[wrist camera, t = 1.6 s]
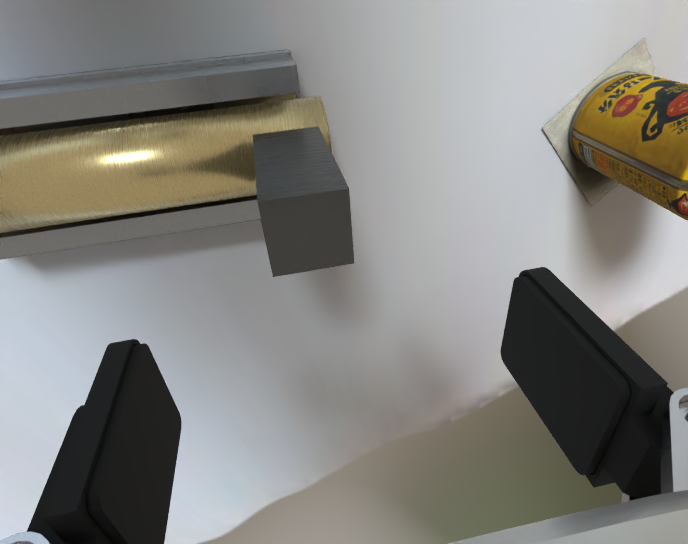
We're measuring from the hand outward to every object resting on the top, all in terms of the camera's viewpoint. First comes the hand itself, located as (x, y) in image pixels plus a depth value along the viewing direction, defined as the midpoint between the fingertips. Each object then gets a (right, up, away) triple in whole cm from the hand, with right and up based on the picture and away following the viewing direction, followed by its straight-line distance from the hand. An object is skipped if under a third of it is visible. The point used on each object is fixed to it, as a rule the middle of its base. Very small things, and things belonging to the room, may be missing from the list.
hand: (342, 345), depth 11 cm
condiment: (+18, +12, +18) cm, 28 cm away
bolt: (-11, +9, +13) cm, 19 cm away
